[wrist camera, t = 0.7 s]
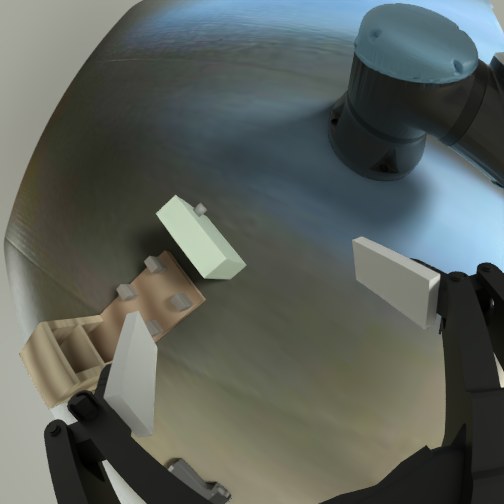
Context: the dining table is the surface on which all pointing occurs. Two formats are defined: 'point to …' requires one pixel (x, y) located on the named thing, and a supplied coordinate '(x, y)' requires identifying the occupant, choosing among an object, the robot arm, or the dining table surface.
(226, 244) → the pale green block
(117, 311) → the wooden rack
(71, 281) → the dining table surface
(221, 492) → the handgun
